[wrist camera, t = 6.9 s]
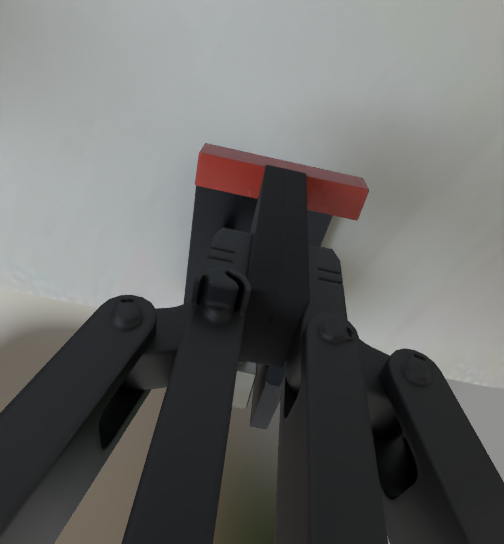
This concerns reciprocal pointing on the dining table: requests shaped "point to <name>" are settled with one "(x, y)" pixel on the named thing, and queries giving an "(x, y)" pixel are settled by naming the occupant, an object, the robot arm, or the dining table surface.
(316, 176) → the lever
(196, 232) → the bracket
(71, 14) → the dining table surface
